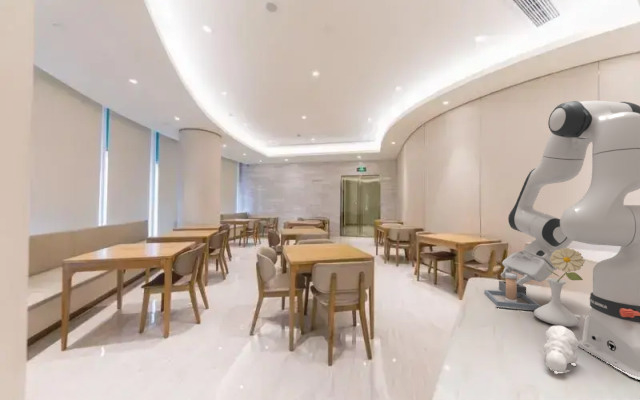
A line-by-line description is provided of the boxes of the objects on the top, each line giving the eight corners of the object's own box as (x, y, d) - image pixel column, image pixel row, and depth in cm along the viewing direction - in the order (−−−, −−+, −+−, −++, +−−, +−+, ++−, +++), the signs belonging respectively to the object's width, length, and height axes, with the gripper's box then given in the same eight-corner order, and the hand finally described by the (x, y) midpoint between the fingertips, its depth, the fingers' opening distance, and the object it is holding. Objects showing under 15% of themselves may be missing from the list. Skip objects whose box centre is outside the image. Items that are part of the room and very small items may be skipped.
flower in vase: (526, 318, 95) (527, 244, 95) (546, 313, 99) (547, 242, 99) (573, 335, 83) (574, 251, 83) (593, 328, 87) (595, 249, 87)
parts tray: (541, 312, 100) (541, 305, 100) (497, 308, 103) (497, 301, 103) (522, 299, 113) (522, 292, 113) (484, 295, 116) (484, 289, 116)
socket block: (526, 298, 114) (526, 287, 114) (505, 296, 116) (505, 285, 116) (517, 292, 121) (518, 282, 121) (498, 290, 123) (498, 280, 123)
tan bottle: (518, 304, 105) (519, 275, 105) (507, 303, 106) (507, 274, 106) (514, 301, 109) (514, 272, 109) (503, 300, 110) (503, 272, 110)
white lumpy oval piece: (579, 327, 69) (573, 349, 61) (579, 360, 69) (573, 387, 61) (546, 319, 73) (537, 338, 65) (546, 350, 74) (537, 373, 66)
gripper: (513, 245, 118) (489, 267, 118) (550, 255, 97) (520, 282, 98) (524, 256, 118) (500, 278, 118) (563, 268, 97) (533, 295, 98)
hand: (509, 280), depth 108 cm, fingers open, 8 cm apart
